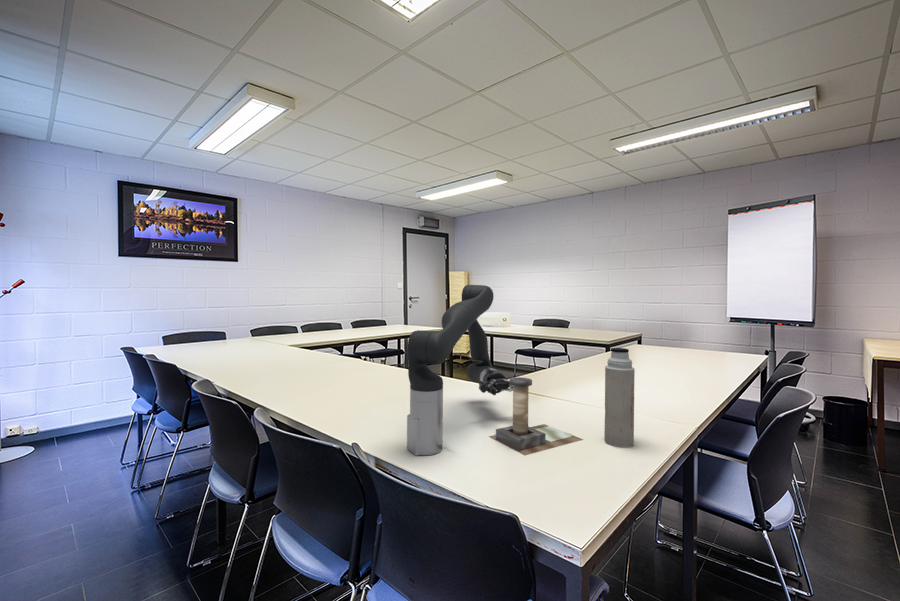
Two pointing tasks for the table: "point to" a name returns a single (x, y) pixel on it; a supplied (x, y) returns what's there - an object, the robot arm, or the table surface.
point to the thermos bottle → (619, 399)
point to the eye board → (534, 439)
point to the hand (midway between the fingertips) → (507, 391)
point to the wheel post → (520, 405)
